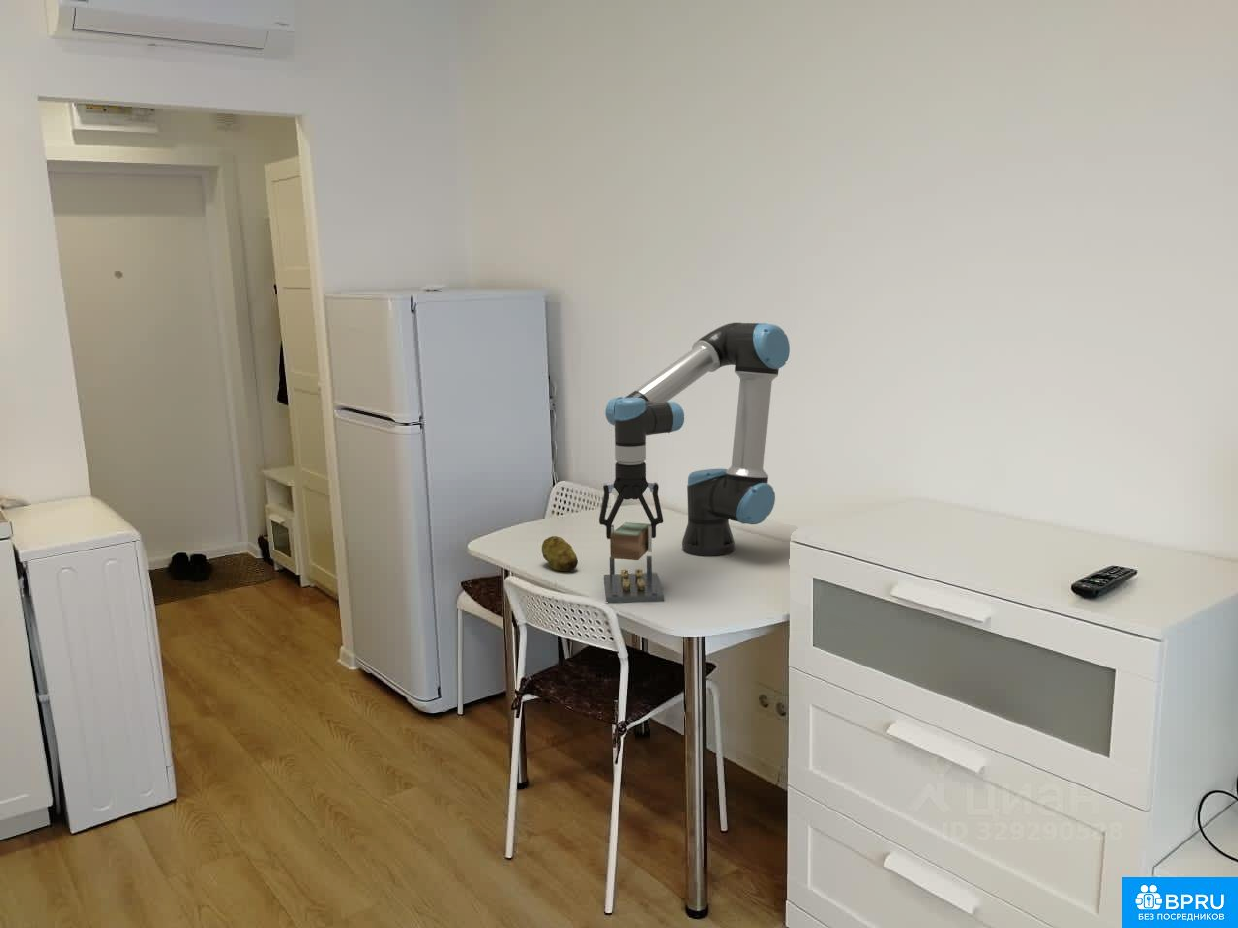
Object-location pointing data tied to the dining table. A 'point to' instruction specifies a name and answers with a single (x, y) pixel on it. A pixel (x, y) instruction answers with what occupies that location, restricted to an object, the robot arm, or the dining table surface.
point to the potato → (559, 554)
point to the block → (629, 541)
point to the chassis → (633, 585)
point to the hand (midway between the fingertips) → (631, 550)
